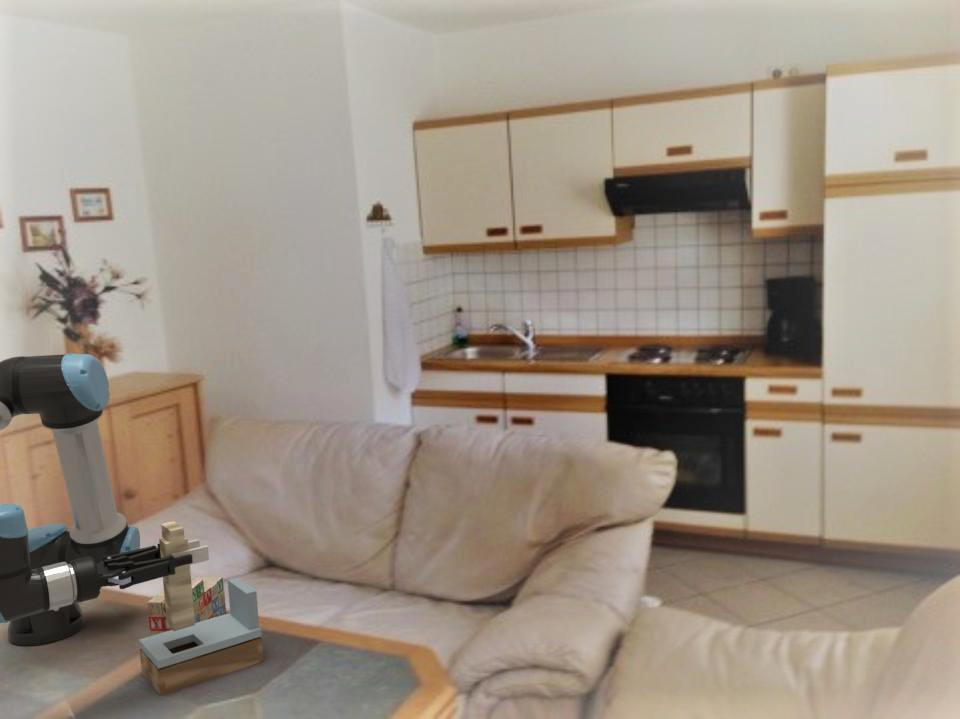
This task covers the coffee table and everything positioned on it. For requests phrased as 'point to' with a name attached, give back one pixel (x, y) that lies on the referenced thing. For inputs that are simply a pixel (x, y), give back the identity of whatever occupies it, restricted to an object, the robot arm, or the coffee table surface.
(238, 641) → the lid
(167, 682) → the wooden box
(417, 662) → the coffee table surface
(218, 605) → the stack of blocks
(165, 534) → the key
